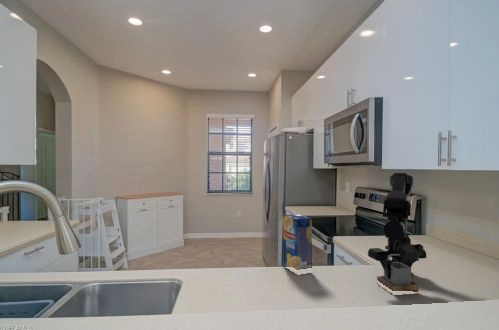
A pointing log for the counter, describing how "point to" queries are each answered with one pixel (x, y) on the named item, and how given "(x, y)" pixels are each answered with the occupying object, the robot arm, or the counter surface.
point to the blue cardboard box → (297, 241)
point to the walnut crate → (412, 287)
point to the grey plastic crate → (399, 274)
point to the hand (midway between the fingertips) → (397, 278)
